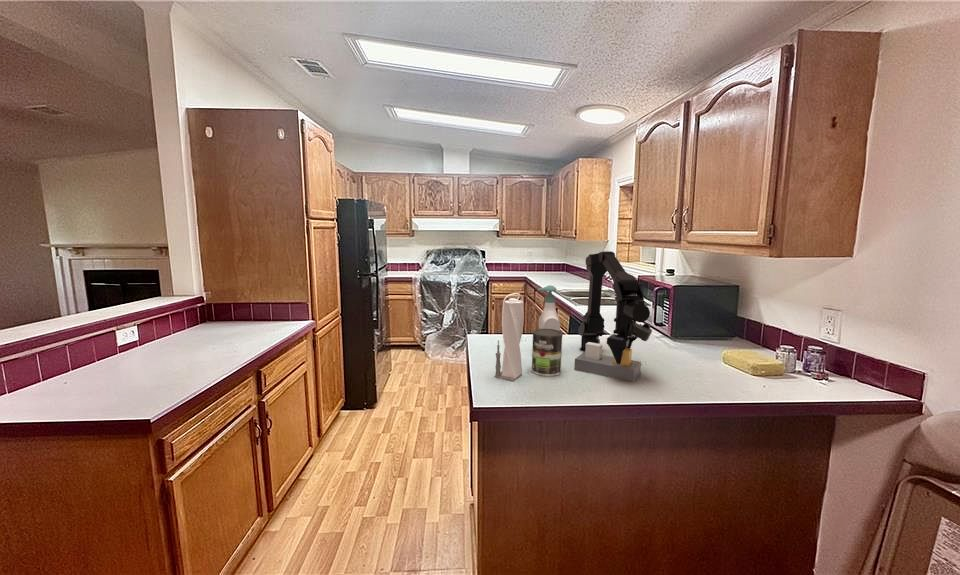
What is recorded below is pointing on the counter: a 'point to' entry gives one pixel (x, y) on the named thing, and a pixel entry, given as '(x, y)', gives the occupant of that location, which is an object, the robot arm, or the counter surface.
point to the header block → (608, 367)
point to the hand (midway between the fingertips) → (622, 360)
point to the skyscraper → (511, 339)
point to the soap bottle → (549, 311)
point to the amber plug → (626, 357)
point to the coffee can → (547, 352)
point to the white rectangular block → (593, 351)
